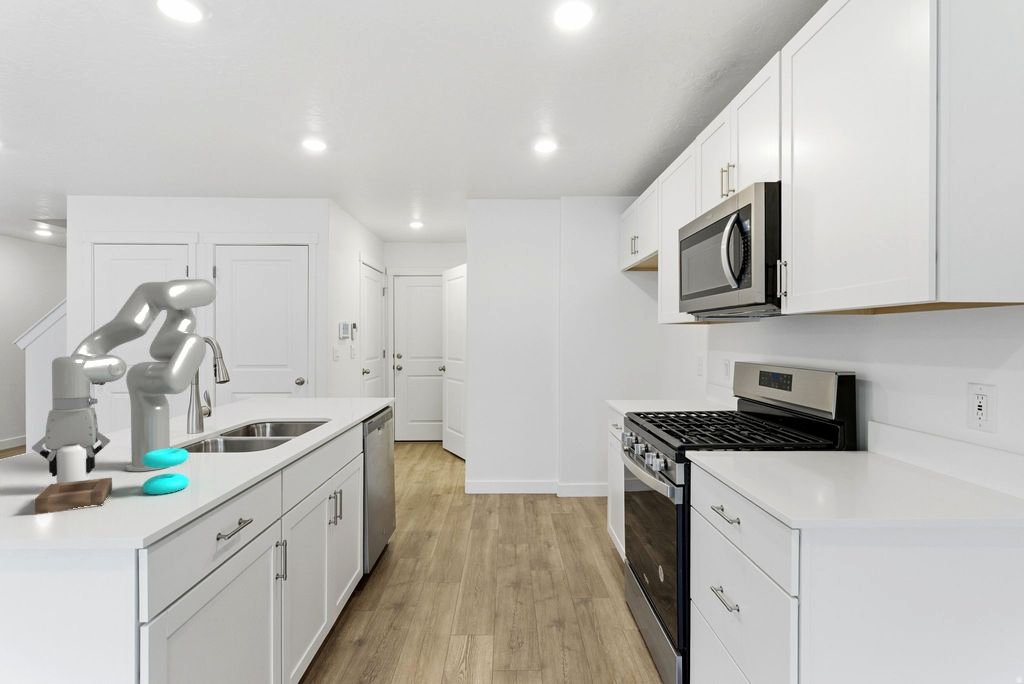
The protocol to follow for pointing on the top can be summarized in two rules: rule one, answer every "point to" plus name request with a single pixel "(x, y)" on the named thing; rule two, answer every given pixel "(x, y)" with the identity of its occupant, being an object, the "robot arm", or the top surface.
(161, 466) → the donuts
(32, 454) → the top surface
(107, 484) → the socket block
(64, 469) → the can
